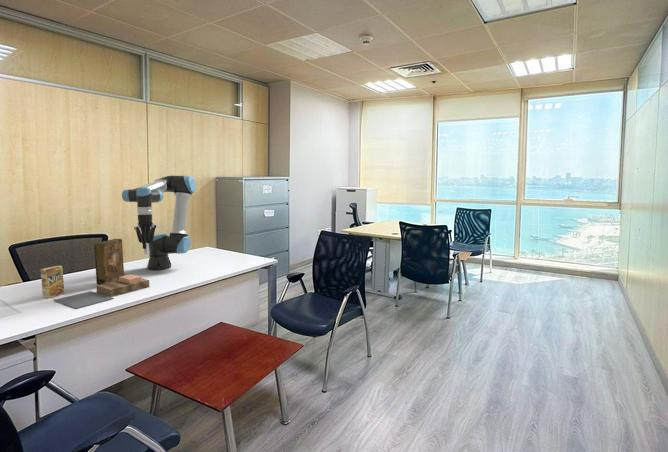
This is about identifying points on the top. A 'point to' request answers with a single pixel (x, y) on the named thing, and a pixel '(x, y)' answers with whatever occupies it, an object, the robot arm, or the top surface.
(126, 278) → the block
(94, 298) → the mat
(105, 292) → the tan panel
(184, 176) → the robot arm
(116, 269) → the book
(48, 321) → the top surface
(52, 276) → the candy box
